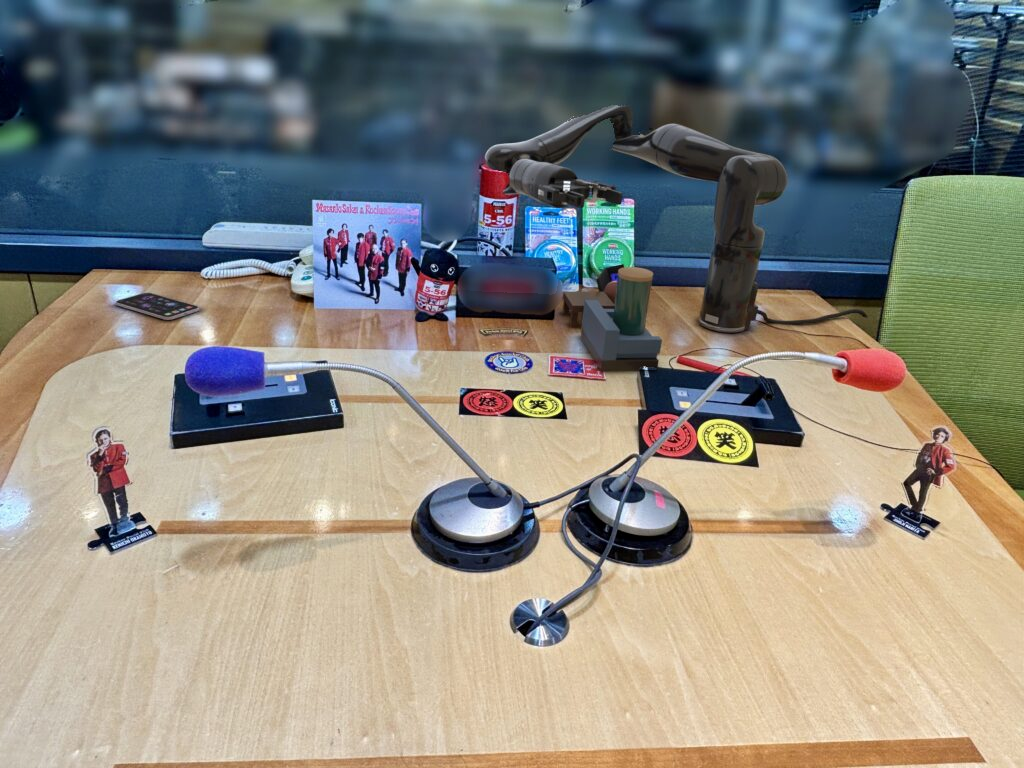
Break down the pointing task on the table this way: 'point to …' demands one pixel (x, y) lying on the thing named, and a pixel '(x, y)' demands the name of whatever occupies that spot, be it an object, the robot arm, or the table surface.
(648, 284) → the canister
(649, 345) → the sofa
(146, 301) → the smartphone
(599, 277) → the character figurine
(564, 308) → the stool
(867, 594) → the table surface
